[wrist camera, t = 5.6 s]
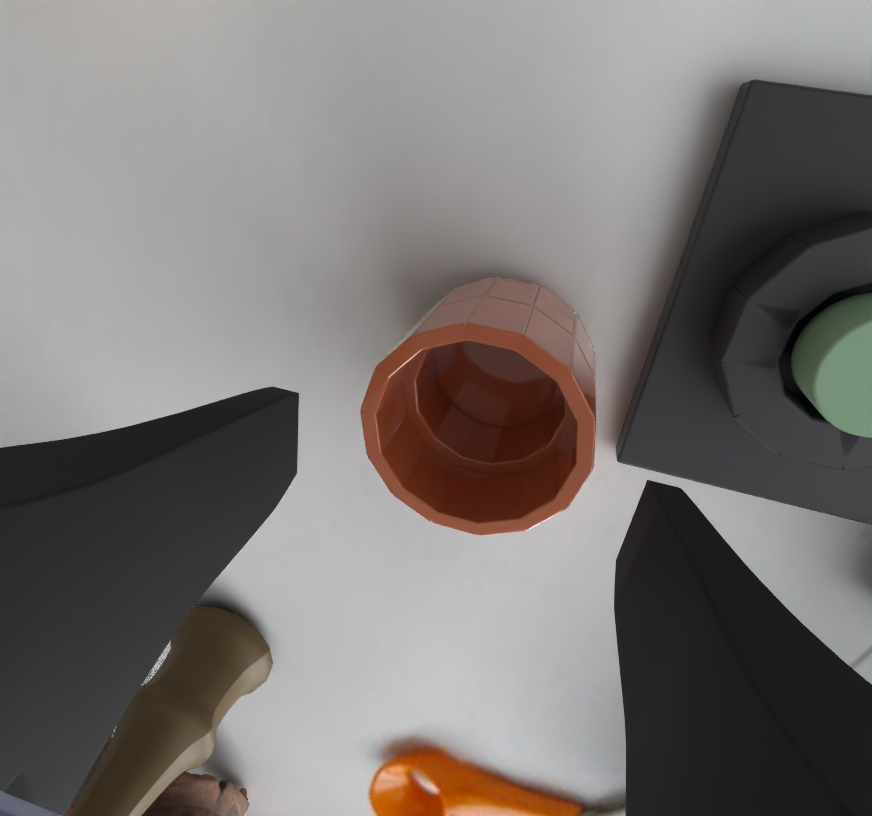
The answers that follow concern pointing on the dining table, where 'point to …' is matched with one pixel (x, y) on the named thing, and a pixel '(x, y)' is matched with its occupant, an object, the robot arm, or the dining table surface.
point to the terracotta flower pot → (486, 409)
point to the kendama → (177, 712)
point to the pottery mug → (186, 795)
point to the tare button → (838, 364)
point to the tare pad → (763, 307)
